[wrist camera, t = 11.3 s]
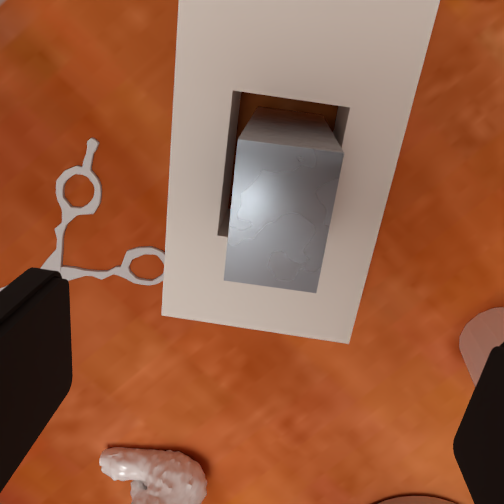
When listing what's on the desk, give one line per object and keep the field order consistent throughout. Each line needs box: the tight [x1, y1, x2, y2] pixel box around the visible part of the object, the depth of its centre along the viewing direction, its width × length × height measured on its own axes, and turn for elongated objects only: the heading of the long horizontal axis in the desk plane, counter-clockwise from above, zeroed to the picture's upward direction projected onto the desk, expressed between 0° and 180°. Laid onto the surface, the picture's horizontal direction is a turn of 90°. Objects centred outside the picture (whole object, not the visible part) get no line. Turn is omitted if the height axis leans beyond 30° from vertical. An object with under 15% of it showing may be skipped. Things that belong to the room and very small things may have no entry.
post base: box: [162, 0, 440, 344], centre depth 26 cm, size 12×20×5 cm, turn 173°
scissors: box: [0, 138, 165, 291], centre depth 34 cm, size 11×1×20 cm
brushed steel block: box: [224, 106, 344, 293], centre depth 23 cm, size 4×6×12 cm, turn 174°
